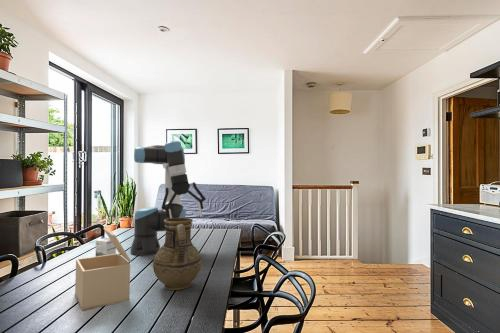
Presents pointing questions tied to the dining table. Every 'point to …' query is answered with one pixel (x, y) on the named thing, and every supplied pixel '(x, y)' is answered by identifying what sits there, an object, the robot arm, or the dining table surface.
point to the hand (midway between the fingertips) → (186, 219)
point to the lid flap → (117, 244)
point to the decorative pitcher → (177, 256)
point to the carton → (102, 281)
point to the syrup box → (104, 247)
